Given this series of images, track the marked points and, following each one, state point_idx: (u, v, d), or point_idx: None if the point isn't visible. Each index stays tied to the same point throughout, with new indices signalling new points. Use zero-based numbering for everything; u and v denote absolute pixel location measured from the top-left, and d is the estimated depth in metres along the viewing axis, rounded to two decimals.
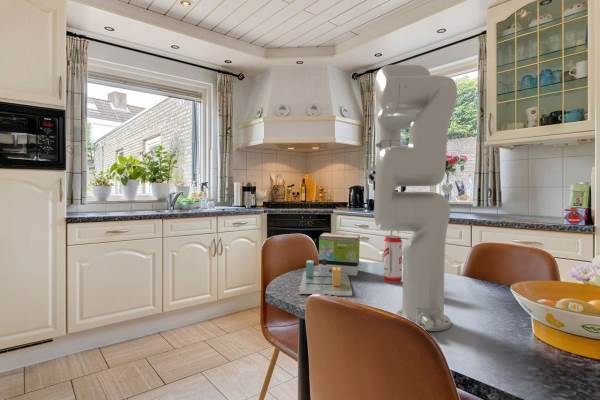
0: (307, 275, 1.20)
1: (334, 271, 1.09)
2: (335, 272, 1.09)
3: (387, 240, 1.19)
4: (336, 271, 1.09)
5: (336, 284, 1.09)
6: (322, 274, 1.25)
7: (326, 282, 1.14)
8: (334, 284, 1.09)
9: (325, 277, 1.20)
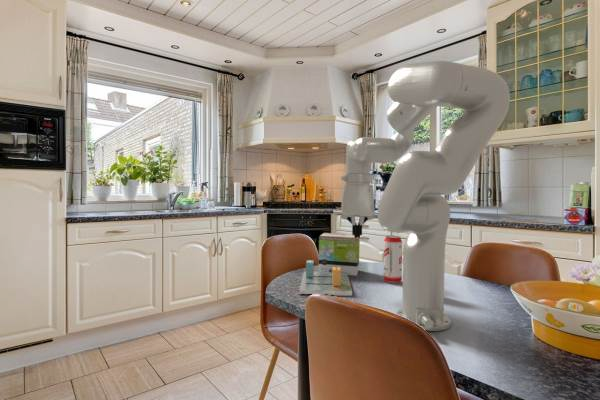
0: (307, 275, 1.20)
1: (334, 271, 1.09)
2: (335, 272, 1.09)
3: (387, 240, 1.19)
4: (336, 271, 1.09)
5: (336, 284, 1.09)
6: (322, 274, 1.25)
7: (326, 282, 1.14)
8: (334, 284, 1.09)
9: (325, 277, 1.20)
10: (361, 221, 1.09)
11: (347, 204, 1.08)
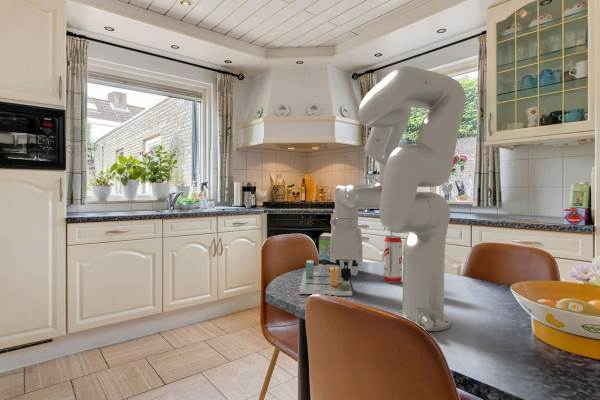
0: (307, 275, 1.20)
1: (332, 271, 1.09)
2: (333, 272, 1.09)
3: (387, 240, 1.19)
4: (334, 271, 1.09)
5: (334, 284, 1.09)
6: (322, 274, 1.25)
7: (326, 282, 1.14)
8: (332, 284, 1.09)
9: (325, 277, 1.20)
10: (349, 265, 1.10)
11: (335, 248, 1.09)
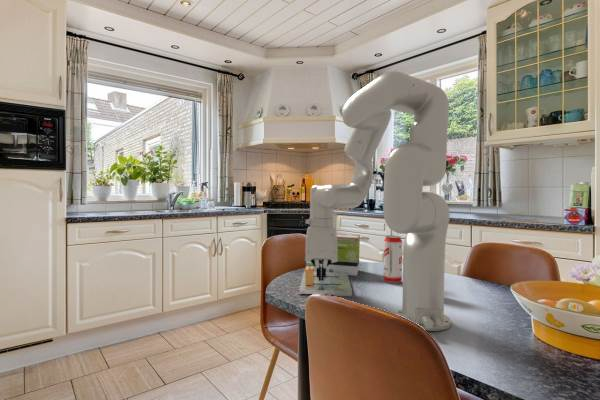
0: None
1: (307, 270, 1.10)
2: (308, 271, 1.10)
3: (387, 240, 1.19)
4: (309, 270, 1.10)
5: (309, 283, 1.10)
6: None
7: (326, 282, 1.14)
8: (307, 283, 1.10)
9: None
10: (324, 264, 1.10)
11: (310, 248, 1.09)
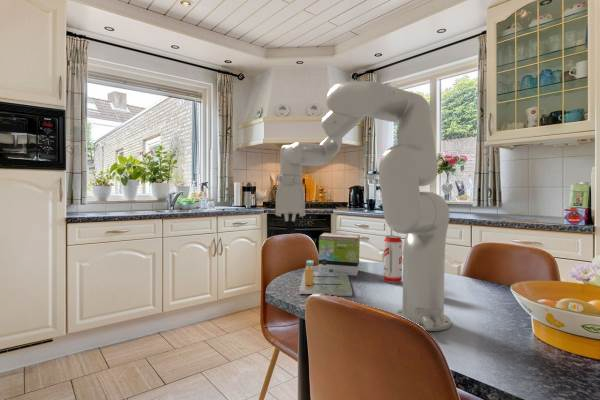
0: None
1: (306, 270, 1.10)
2: (307, 271, 1.10)
3: (387, 240, 1.19)
4: (308, 270, 1.10)
5: (308, 283, 1.10)
6: (322, 274, 1.25)
7: (326, 282, 1.14)
8: (306, 283, 1.10)
9: (325, 277, 1.20)
10: (293, 218, 1.21)
11: (280, 202, 1.19)
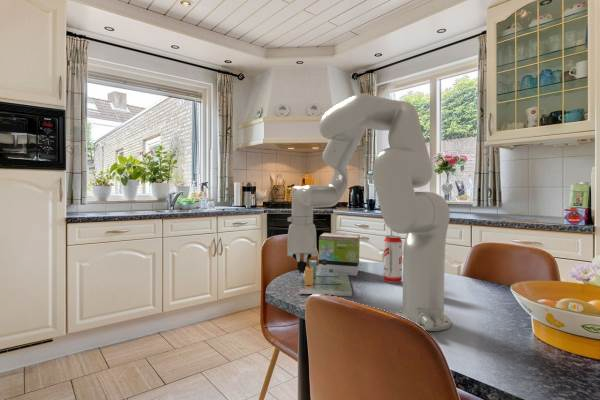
0: None
1: (306, 270, 1.10)
2: (307, 271, 1.10)
3: (387, 240, 1.19)
4: (308, 270, 1.10)
5: (308, 283, 1.10)
6: (322, 274, 1.25)
7: (326, 282, 1.14)
8: (306, 283, 1.10)
9: (325, 277, 1.20)
10: (305, 258, 1.21)
11: (292, 243, 1.19)
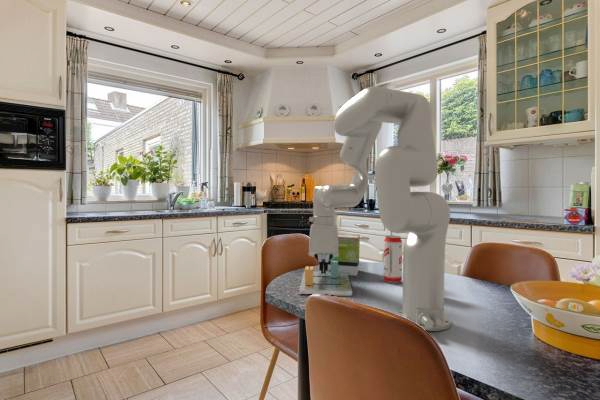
0: (332, 276, 1.19)
1: (306, 270, 1.10)
2: (307, 271, 1.10)
3: (387, 240, 1.19)
4: (308, 270, 1.10)
5: (308, 283, 1.10)
6: (322, 274, 1.25)
7: (326, 282, 1.14)
8: (306, 283, 1.10)
9: (325, 277, 1.20)
10: (327, 258, 1.20)
11: (313, 243, 1.19)
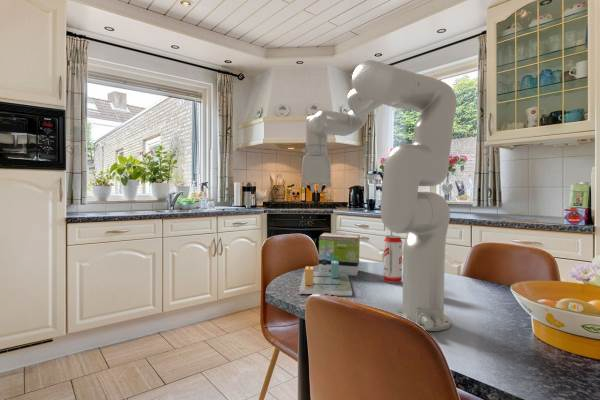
0: (332, 276, 1.19)
1: (306, 270, 1.10)
2: (307, 271, 1.10)
3: (387, 240, 1.19)
4: (308, 270, 1.10)
5: (308, 283, 1.10)
6: (322, 274, 1.25)
7: (326, 282, 1.14)
8: (306, 283, 1.10)
9: (325, 277, 1.20)
10: (319, 189, 1.20)
11: (306, 173, 1.18)
